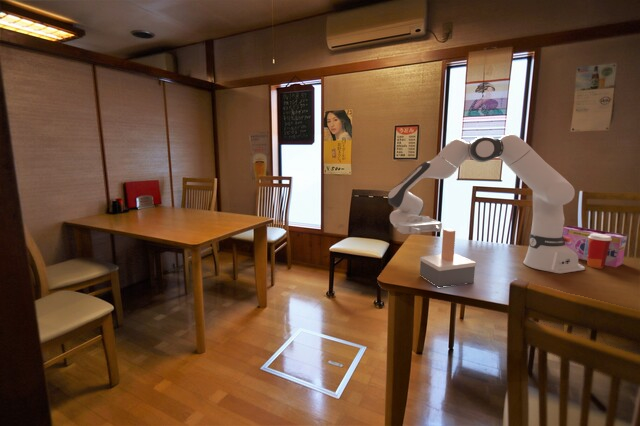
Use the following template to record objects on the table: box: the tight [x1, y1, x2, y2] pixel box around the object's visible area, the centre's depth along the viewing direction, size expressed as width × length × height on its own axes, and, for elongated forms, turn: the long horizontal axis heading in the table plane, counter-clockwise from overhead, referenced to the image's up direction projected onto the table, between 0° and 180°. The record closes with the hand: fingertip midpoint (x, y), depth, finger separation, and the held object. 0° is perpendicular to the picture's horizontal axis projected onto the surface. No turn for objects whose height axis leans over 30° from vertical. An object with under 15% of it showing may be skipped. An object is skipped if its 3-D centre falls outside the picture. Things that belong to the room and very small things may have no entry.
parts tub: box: [419, 261, 476, 287], centre depth 125 cm, size 16×12×7 cm
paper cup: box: [586, 233, 612, 269], centre depth 136 cm, size 8×8×14 cm
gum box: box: [562, 225, 629, 268], centre depth 146 cm, size 24×8×14 cm, turn 30°
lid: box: [419, 228, 477, 271], centre depth 123 cm, size 16×12×15 cm
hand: (429, 230), depth 134 cm, fingers open, 8 cm apart
